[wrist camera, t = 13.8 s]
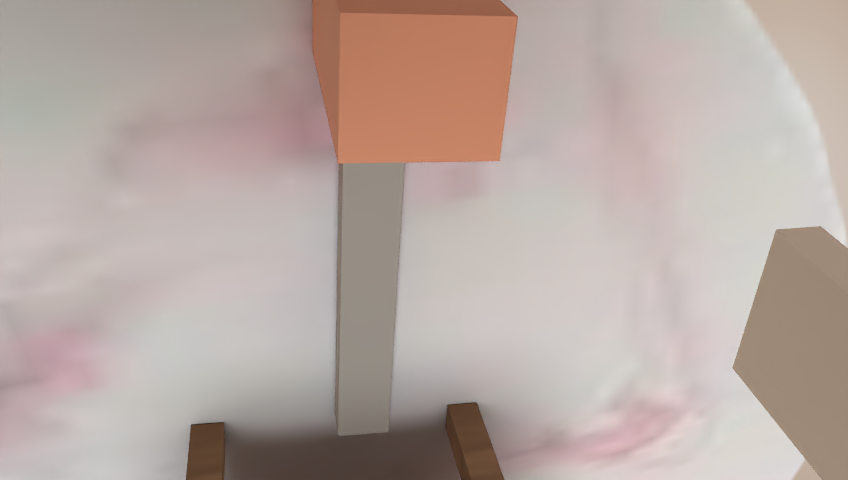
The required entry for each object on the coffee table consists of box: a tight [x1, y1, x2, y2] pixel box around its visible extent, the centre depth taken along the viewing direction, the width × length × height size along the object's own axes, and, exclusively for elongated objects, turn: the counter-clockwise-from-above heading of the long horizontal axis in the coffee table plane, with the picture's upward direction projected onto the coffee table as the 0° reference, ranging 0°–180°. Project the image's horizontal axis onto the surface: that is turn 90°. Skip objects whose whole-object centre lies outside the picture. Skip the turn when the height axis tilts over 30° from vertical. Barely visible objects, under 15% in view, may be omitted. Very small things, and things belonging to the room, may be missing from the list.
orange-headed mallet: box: [313, 0, 518, 436], centre depth 29 cm, size 22×4×10 cm, turn 176°
